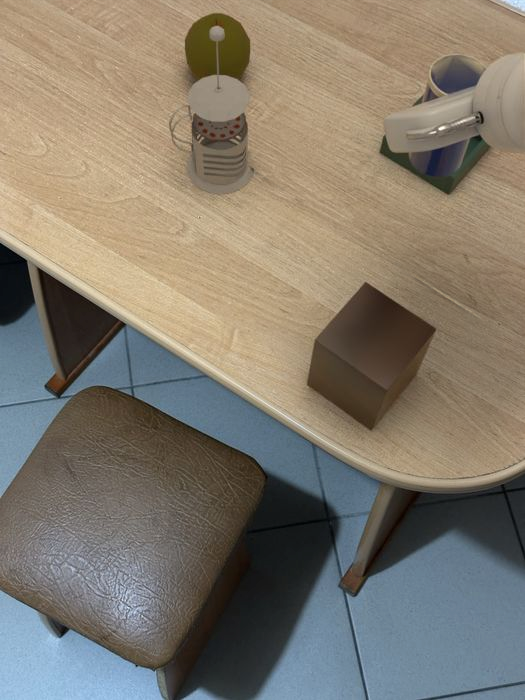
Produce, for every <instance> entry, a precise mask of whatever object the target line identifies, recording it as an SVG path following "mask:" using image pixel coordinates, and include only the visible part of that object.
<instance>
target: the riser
mask: <svg viewBox="0 0 525 700" xmlns="http://www.w3.org/2000/svg"><path fill="white" fill-rule="evenodd" d="M437 329H438V328H436V327H435V326H433V325H431V324H430V323H429V322H428V321H426V320H424V319H423V318H421V317H420V316H418V315H417V314H415V313H414V312H412V311H410V310H409V309H407V308H406V307H405V306H403V305H401V304H400V303H399V302H397V301H395V300H394V299H392V298H391V297H389V296H388V295H386V294H385V293H384V292H382V291H381V290H379V289H377V288H376V287H375V286H373V285H371V284H370V283H368V282H367V281H365V282H364V283H363V284H361V286H360V287H359V288H358V289H357V291H356V292H354V294H353V295H352V296H351V298H349V300H348V301H346V303H345V304H344V305H343V307H342V308H341V309H340V310H339V311H338V312H337V314H336V315H335V316H334V317H333V318H332V319H331V320H330V322H328V324H327V325H326V326H325V327H324V328H323V330H322V331H321V332H320V333H319V334H318V336H317V337H315V339H314V341H313V347H312V353H311V358H310V364H309V370H308V375H307V381H306V385H307V386H309V387H310V388H311V389H313V390H314V391H315V392H316V393H318V394H319V395H320V396H322V397H323V398H325V399H327V400H328V401H329V402H331V403H332V404H333V405H335V406H336V407H337V408H339V409H340V410H342V411H343V412H344V413H345V414H347V415H349V416H350V417H351V418H353V419H354V420H355V421H357V422H358V423H359V424H361V425H362V426H364V427H365V428H367V429H368V430H369V431H371V432H372V431H374V429H375V428H376V426H377V425H378V424H379V422H381V420H382V419H383V418H384V416H385V415H386V414H387V413H388V412H389V410H390V409H391V407H392V406H393V405H394V404H395V402H397V400H398V399H399V398H400V396H401V395H402V394H403V392H404V391H405V390H406V389H407V387H408V386H409V385H410V383H411V382H412V381H413V380H414V379H415V377H416V376H417V374H418V372H419V371H420V368H421V366H422V363H423V362H424V358H425V356H426V354H427V352H428V350H429V347H430V345H431V344H432V341H433V338H434V336H435V334H436V332H437Z"/></svg>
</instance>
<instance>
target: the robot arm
mask: <svg viewBox="0 0 525 700" xmlns="http://www.w3.org/2000/svg"><path fill="white" fill-rule="evenodd" d="M486 68H487V69H486V70H485V71H484V73H483V74H482V76H481V77H480V79H479V81H478V83H477V85H476V86H473V87H470V88H467V89H464V90H461V91H458V92H455V93H452V94H449V95H446V96H443V97H440V98H437V99H434V100H431V101H428V102H425V103H422V104H419V105H416V106H413V105H412V106H413V107H412V106H409V107H407V108H403V109H400V110H398V111H394V112H393V113H390V114H388V115H387V116H385V117H384V119H383V129H384V135H386V139H387V143H388V146H389V148H390V150H391V151H392V152H395V153H407V152H422V151H429V150H434V149H438V148H442V147H445V146H448V145H451V144H454V143H457V142H460V141H462V140H465V139H468V138H471V137H474V136H477V135H481V137H482V138H483V140H484V141H485V142H486V143H487V144H489V145H490V146H491V147H490V148H492V149H494V150H496V151H498V152H502V153H507V154H525V51H522V52H515V53H509V54H505V55H503V56H501V57H499V58H497V59H496V60H494V61H493V62H491V64H489V66H487V67H486Z"/></svg>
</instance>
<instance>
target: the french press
mask: <svg viewBox="0 0 525 700" xmlns="http://www.w3.org/2000/svg"><path fill="white" fill-rule="evenodd" d="M224 38H225V33H224V29H223V28H221V27H220V26H214V27H212V28H211V29H210V39H211V40H213V41H216V51H217V75H212V76H208V77H205V78H202V79H200V80H199V81H198V80H196V82H194V83H193V84H192V86H191V87H190V89H189V90H188V92H187V103H188V104H184V105H182V106H180V107H179V108H177V109H175V111H174V112H173V113H172V115H171V117H170V118H169V121H168V125H169V127H168V128H169V132H170V136H171V141H172V144H173V145H174V146H175V147H176V148H177V149H178V150H179V151H182V152H185V153H188V154H189V153H190V156H189V158H188V159H187V161H186V173H187V175H188V178H189V179H190V181H191V183H193V184H194V185H195V186H196V187H197V188H199V190H200V191H201V190H202V191H204V192H207V193H210V194H213V195H228V194H231V193H234V192H237V191H240V190H241V189H243V188H244V187H245V186H246V185H248V184H249V183H250V181H251V180H252V178H253V176H254V173H255V168H254V167H252V166H251V165H249V164H248V159H249V158H250V157H251V154H250V152H249V151H248V149H249V126H248V122H247V116H246V114H245V112H246V110H247V108H248V106H249V105H250V92H249V89H248V88H247V86H246V85H245V84H244V83H243V82H241V81H240V79H239V80H237V79H235V78H232V77H229V76H226V75H219V66H218V41H222V40H223V39H224ZM185 108H187V109H188V114H185V115H182V116H181V117H179V118H178V119H177V121H175V123H174V124H173V126H172V123H173V119H174V117H175V115H176V114H177V113H178V112H179V111H180V110H182V109H185ZM192 112H193V115H192ZM187 117H189V120H190V121H191V142H190V141H187V140H183V139H180V138H178V137H177V136H176V134H174V132H175V128H176V126H177V125H178V124H179V123H180V121H182V120H184V119H186V118H187ZM174 139H175V140H176V141H178V142H180V143H184V144H188V145H190V150H188V149H184V148H182V147H180V146H179V145H178V144H177V142H176V141H175V140H174ZM233 140H234V141H233ZM235 141H236V142H235ZM237 142H238V143H237Z"/></svg>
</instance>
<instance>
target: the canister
mask: <svg viewBox="0 0 525 700" xmlns="http://www.w3.org/2000/svg"><path fill="white" fill-rule="evenodd" d="M487 68H488V67H487V66H486V65H485V64H484V63H483V62H481V61H480V60H479V59H477V58H475V57H473V56H470V55H466V54H460V53H449V54H445V55H442V56H440V57H438V58H437V59H436V60H434V61H433V62H432V64H431V65H430V67H429V70H428V74H427V82H426V85H425V89H424V93H423V94H424V97H423V100H422V103H425V102H428V101H431V100H434V99H437V98H440V97H443V96H446V95H449V94H452V93H455V92H458V91H461V90H464V89H467V88H470V87H473V86H476V85H477V83H478V81H479V79H480V77H481V76H482V74H483V73H484V71H485V70H486V69H487ZM469 140H470V138H468V139H465V140H462V141H460V142H457V143H454V144H451V145H448V146H445V147H442V148H438V149H434V150H429V151H422V152H409V158H410V161H411V163H412V165H413V166H414V167H415V168H416V169H417V170H418V171H420V172H421V173H423V174H425V175H428V176H432V177H445V176H448V175H451V174H453V173H454V172H456V171H457V170H458V169H459V167H460V165H461V163H462V160H463V157H464V154H465V152H466V149H467V146H468V143H469Z"/></svg>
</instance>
